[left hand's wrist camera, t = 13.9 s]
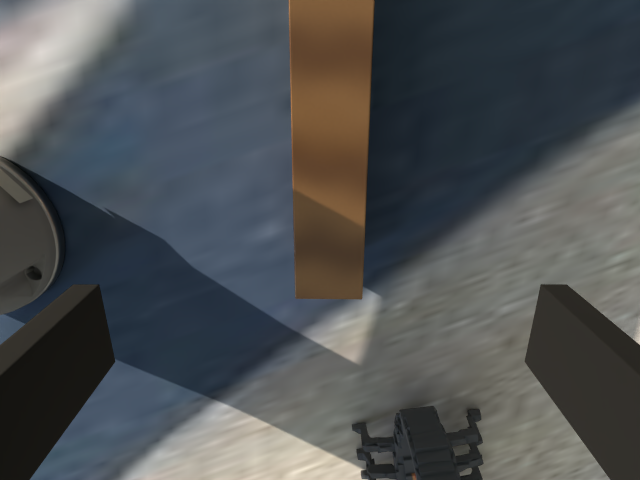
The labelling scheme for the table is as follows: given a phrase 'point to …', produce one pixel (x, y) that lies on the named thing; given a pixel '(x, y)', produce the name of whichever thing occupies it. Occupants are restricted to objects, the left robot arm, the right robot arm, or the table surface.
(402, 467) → the toy
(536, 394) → the table surface
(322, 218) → the beam
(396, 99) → the table surface
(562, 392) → the left robot arm
